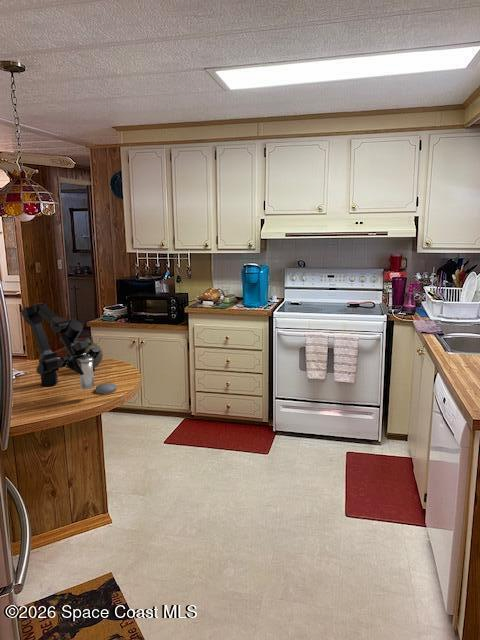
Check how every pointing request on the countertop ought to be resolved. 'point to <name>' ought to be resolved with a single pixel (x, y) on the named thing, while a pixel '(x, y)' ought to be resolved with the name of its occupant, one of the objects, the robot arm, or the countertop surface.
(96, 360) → the grey round ball
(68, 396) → the countertop surface
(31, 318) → the robot arm
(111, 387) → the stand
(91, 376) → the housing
